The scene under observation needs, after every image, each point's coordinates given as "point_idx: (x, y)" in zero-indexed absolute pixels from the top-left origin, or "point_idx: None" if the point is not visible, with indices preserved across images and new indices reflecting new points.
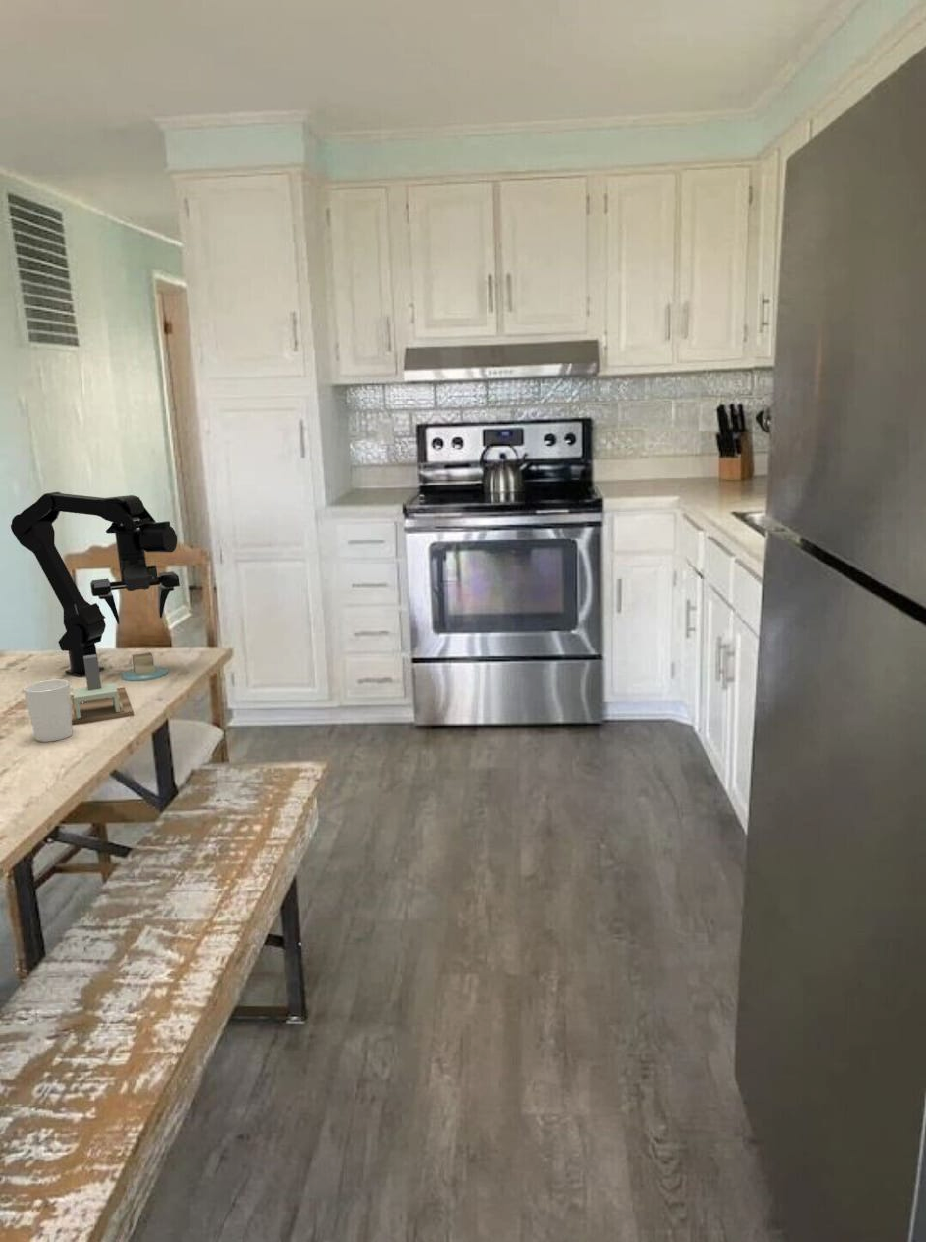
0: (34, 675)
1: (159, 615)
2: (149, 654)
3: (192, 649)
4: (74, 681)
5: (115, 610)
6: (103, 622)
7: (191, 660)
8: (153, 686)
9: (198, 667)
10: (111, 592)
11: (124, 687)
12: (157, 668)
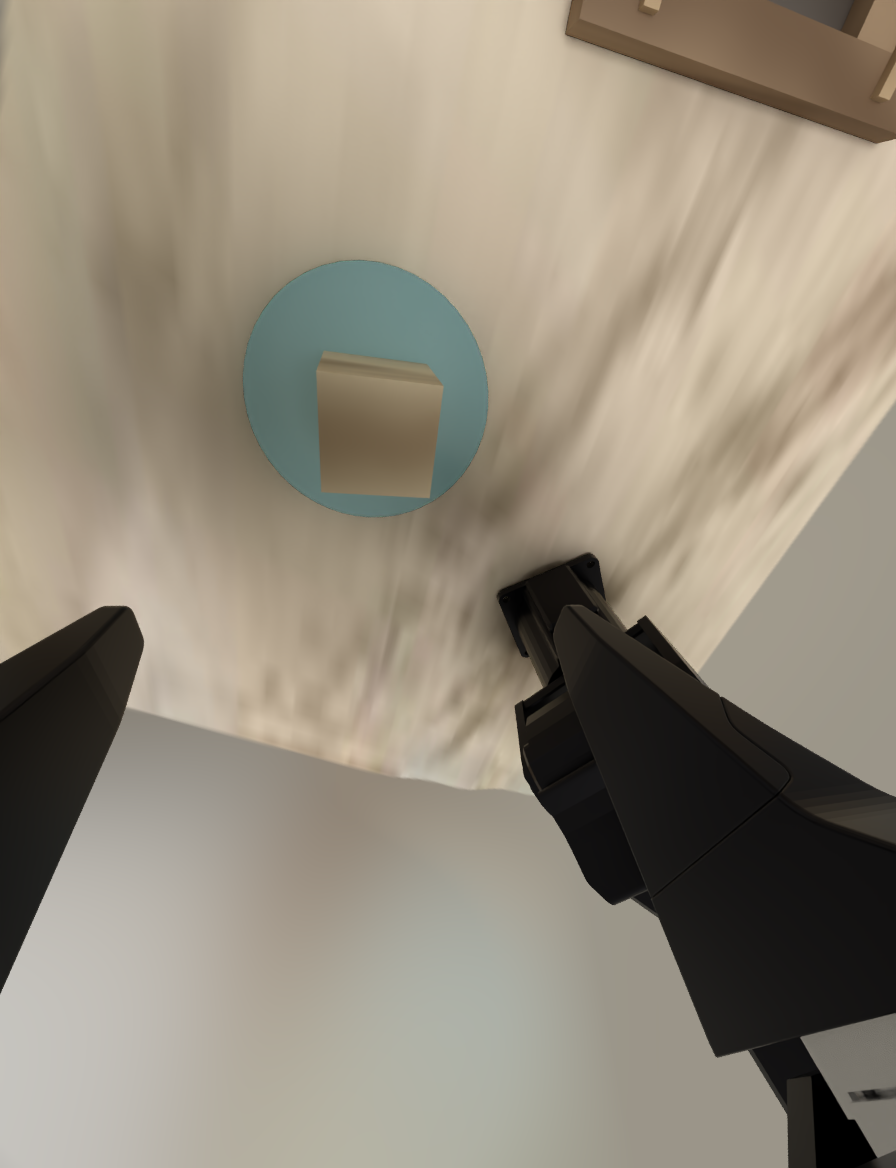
0: (668, 640)
1: (126, 648)
2: (334, 427)
3: (143, 696)
4: (633, 506)
5: (681, 697)
6: (543, 766)
7: (123, 547)
8: (365, 21)
9: (46, 375)
10: (773, 1042)
11: (582, 15)
12: (300, 440)
